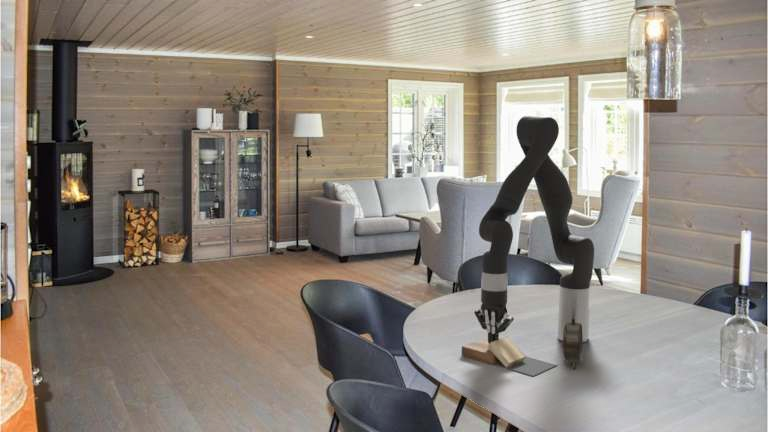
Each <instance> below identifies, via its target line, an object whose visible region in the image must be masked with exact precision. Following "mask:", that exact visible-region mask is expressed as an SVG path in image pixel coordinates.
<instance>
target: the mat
mask: <svg viewBox="0 0 768 432" xmlns="http://www.w3.org/2000/svg"><path fill="white" fill-rule="evenodd" d="M493 366H495V367H500V368H503V369H506V370H510V371H512V372H516V373H520V374H522V375H526V376H529V377H536V376H538V375H540V374H543V373H546V372H547V371H549V370H551V369H553V368H556V367H557V366H558V364H555V363H552V362H551V363H550V362H547V361H543V360H540V359H537V358H534V357H529V356H526V357H525V359H524V360H523V361H522V362H519V363H517V364H514V365H512V366H509V367H507V368H506V367H505V366H504V365H503V364H502V362H498V363H496V364H494V365H493Z"/></svg>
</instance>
